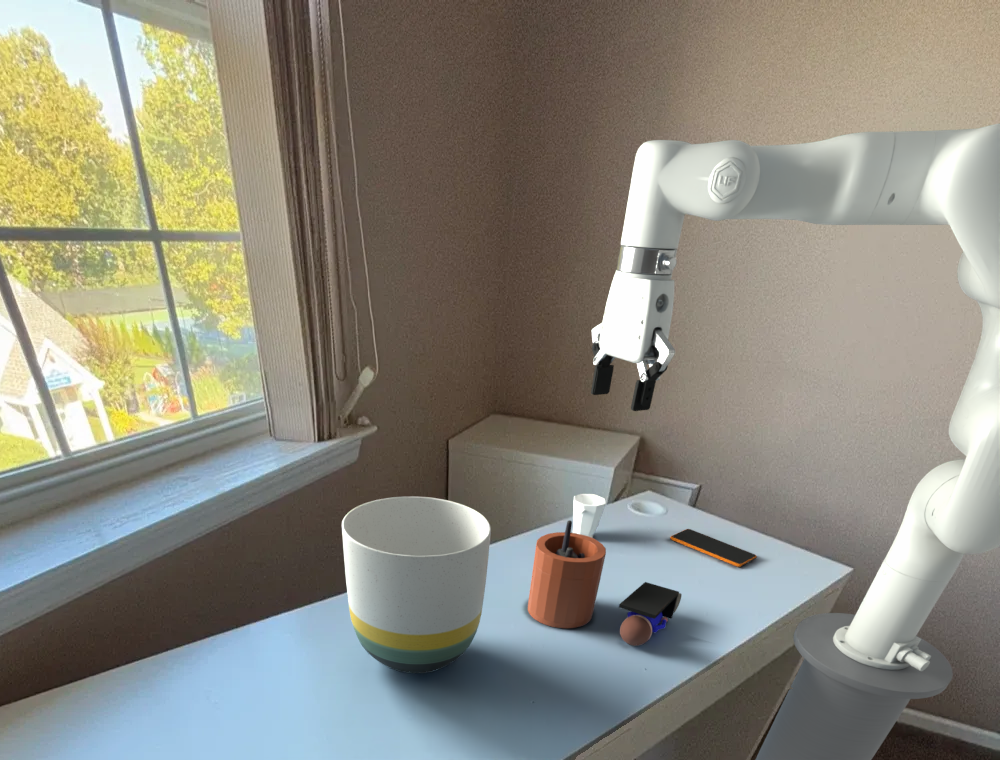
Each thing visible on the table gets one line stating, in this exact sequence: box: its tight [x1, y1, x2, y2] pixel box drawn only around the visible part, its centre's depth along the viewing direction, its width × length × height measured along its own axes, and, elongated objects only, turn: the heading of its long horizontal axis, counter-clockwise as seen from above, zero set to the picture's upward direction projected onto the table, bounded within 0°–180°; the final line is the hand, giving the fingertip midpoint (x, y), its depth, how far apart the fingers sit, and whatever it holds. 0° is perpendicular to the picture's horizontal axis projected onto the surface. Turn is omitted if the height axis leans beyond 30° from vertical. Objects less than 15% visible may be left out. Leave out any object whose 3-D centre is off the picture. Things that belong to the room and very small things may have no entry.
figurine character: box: [618, 581, 682, 647], centre depth 105 cm, size 7×8×15 cm
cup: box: [571, 493, 607, 539], centre depth 132 cm, size 7×10×8 cm
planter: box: [341, 496, 492, 674], centre depth 90 cm, size 20×20×21 cm
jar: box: [527, 531, 607, 629], centre depth 106 cm, size 11×11×12 cm
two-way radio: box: [556, 520, 585, 558], centre depth 105 cm, size 6×4×15 cm
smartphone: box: [669, 528, 758, 568], centre depth 133 cm, size 8×17×1 cm, turn 43°
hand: (619, 401), depth 97 cm, fingers open, 9 cm apart
